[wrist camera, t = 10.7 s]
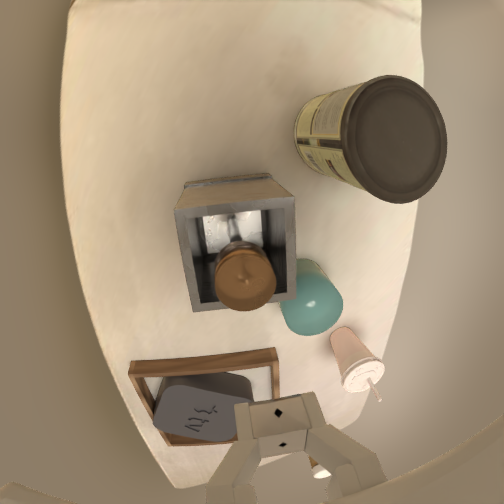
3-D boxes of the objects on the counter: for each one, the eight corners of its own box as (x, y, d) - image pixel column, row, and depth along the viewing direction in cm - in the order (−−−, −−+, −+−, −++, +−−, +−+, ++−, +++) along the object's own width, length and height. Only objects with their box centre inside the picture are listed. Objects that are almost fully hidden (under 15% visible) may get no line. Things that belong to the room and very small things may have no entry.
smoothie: (348, 352, 45) (382, 413, 32) (315, 350, 44) (345, 417, 31) (364, 321, 43) (407, 381, 30) (331, 318, 42) (370, 384, 29)
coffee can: (381, 116, 31) (459, 117, 18) (354, 188, 34) (423, 221, 21) (309, 79, 29) (369, 50, 16) (280, 157, 32) (324, 174, 19)
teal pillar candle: (272, 262, 37) (284, 289, 31) (324, 255, 38) (345, 280, 31) (274, 308, 40) (285, 340, 33) (322, 300, 40) (340, 329, 34)
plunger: (200, 197, 31) (190, 247, 17) (258, 191, 31) (291, 235, 18) (207, 251, 33) (205, 328, 20) (261, 244, 34) (292, 317, 20)
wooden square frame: (131, 360, 41) (127, 374, 38) (274, 347, 42) (278, 360, 40) (168, 434, 49) (168, 446, 47) (277, 424, 51) (280, 436, 49)
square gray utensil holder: (185, 182, 32) (170, 207, 21) (268, 173, 32) (296, 193, 21) (197, 258, 35) (191, 314, 24) (273, 249, 36) (298, 300, 25)
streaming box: (170, 356, 41) (167, 380, 37) (256, 377, 45) (260, 400, 40) (153, 406, 46) (150, 428, 41) (226, 422, 49) (227, 443, 45)
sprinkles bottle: (315, 427, 54) (332, 476, 41) (296, 429, 53) (310, 480, 41) (322, 415, 52) (341, 467, 40) (301, 417, 51) (318, 471, 39)
